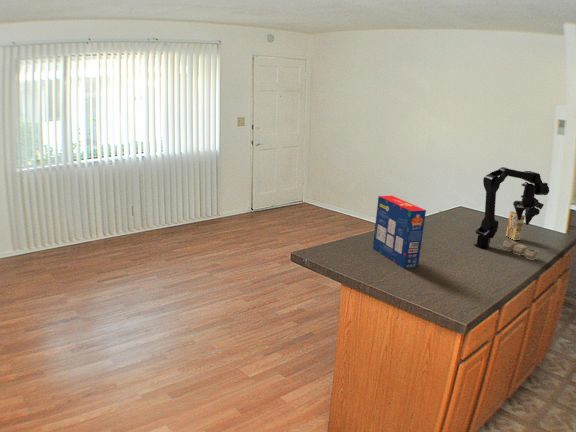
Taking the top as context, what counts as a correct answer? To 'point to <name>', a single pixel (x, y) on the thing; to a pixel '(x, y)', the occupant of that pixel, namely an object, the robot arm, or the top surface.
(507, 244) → the two mark block
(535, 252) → the three mark block
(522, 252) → the plain block
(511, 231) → the candy box
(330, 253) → the top surface
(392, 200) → the blue toy box
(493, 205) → the robot arm
